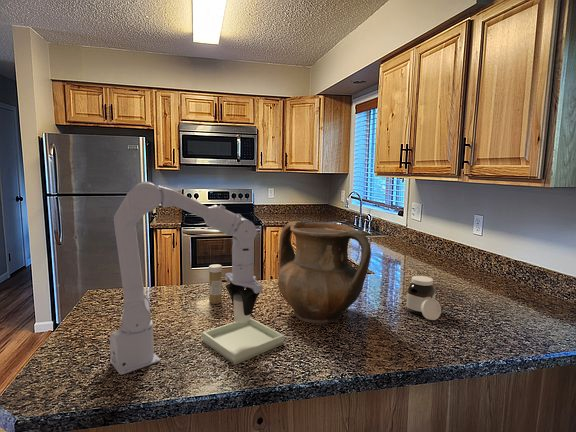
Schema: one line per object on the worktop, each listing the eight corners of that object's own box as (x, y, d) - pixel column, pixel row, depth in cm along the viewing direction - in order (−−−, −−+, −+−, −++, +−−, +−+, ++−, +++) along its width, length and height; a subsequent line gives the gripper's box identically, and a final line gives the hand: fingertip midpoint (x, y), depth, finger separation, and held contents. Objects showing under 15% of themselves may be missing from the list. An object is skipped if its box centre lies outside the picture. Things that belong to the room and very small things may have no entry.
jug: (257, 322, 111) (257, 227, 107) (288, 293, 137) (289, 216, 133) (362, 340, 100) (367, 236, 96) (374, 305, 126) (378, 222, 122)
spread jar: (416, 304, 128) (418, 273, 127) (448, 313, 120) (450, 280, 119) (399, 313, 120) (401, 280, 118) (432, 324, 112) (435, 288, 110)
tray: (235, 364, 87) (234, 355, 86) (202, 340, 99) (202, 332, 98) (283, 344, 98) (284, 335, 97) (249, 324, 109) (249, 317, 109)
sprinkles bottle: (210, 299, 129) (209, 263, 128) (222, 299, 130) (222, 263, 128) (208, 304, 125) (208, 267, 123) (221, 304, 125) (221, 267, 124)
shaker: (241, 324, 94) (240, 299, 93) (230, 319, 97) (230, 295, 96) (253, 319, 97) (253, 294, 96) (243, 314, 100) (242, 290, 99)
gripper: (271, 266, 92) (271, 316, 94) (239, 255, 103) (239, 300, 105) (249, 271, 88) (249, 323, 90) (218, 259, 98) (219, 306, 100)
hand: (242, 311), depth 97 cm, fingers closed on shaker, 4 cm apart
